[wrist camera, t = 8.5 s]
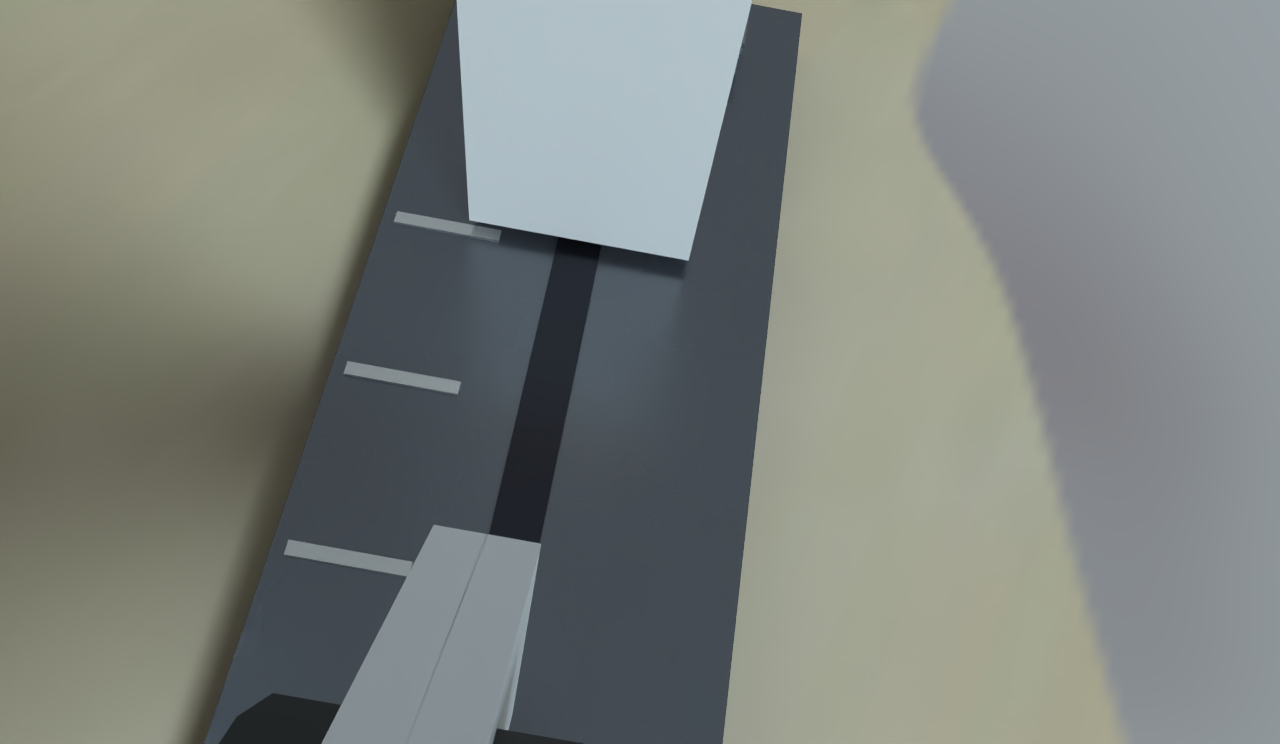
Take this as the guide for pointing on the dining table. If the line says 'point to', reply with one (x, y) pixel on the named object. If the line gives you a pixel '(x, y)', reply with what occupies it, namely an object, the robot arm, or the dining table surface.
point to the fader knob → (596, 114)
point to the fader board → (543, 433)
